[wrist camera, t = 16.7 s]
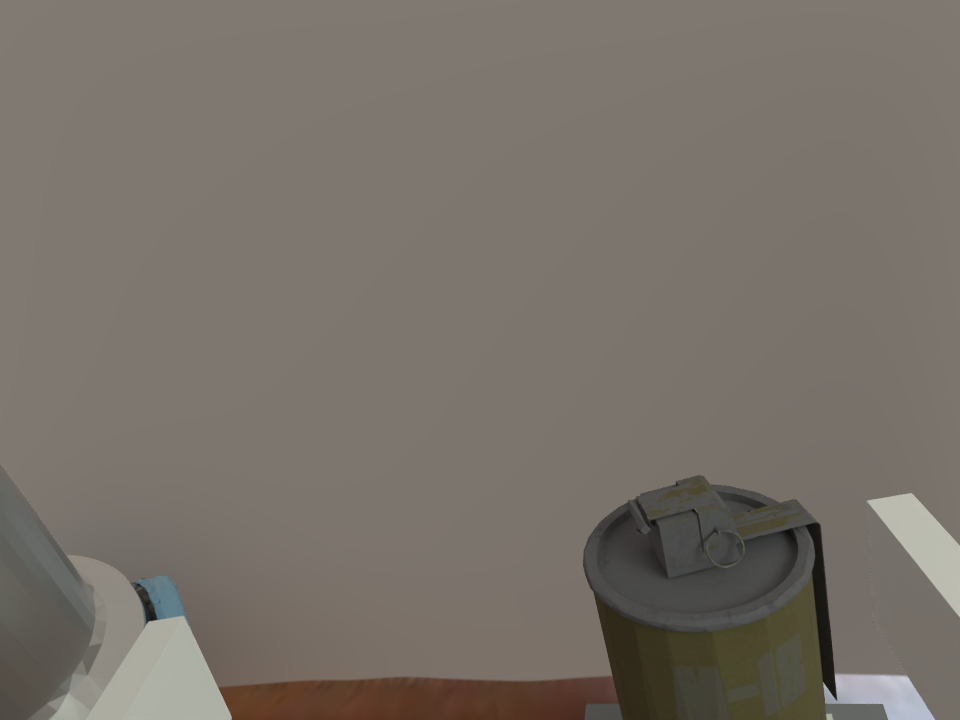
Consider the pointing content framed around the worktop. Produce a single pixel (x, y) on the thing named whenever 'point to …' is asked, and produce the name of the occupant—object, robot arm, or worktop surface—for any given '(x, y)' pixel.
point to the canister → (713, 605)
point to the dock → (838, 715)
